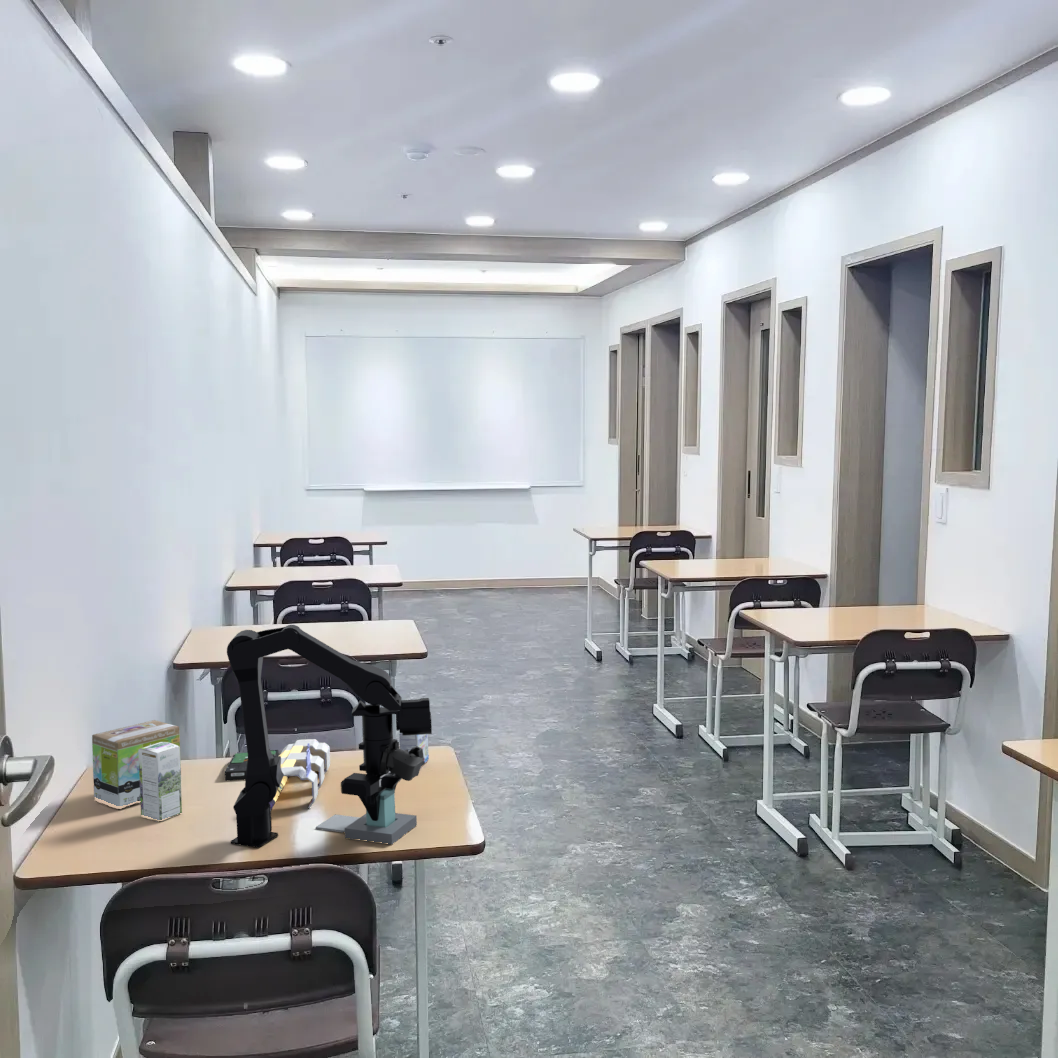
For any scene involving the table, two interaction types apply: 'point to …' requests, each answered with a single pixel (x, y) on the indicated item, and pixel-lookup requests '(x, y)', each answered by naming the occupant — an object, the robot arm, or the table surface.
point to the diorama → (304, 764)
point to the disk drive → (240, 765)
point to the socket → (381, 829)
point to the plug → (384, 810)
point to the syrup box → (160, 780)
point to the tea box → (125, 759)
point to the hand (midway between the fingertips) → (380, 816)
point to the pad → (337, 823)
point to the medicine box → (415, 743)
